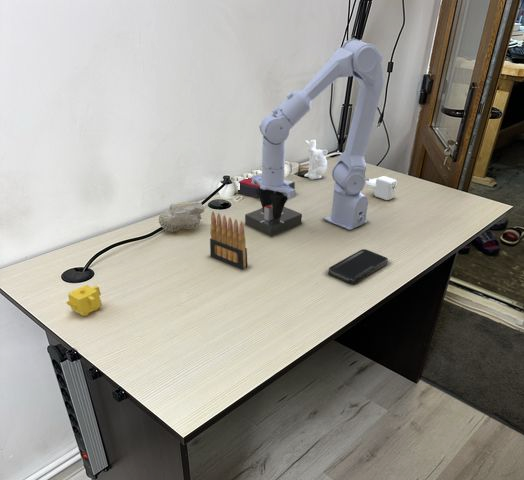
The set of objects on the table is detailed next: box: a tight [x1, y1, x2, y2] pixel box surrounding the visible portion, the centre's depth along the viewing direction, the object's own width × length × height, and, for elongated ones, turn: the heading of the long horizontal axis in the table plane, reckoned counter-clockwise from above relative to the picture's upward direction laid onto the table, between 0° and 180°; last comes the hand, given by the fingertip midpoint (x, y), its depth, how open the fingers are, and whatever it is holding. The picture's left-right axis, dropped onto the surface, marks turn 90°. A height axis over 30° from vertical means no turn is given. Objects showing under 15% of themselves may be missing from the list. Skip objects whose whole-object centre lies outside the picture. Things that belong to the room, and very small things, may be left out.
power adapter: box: [365, 175, 398, 201], centre depth 156 cm, size 11×5×6 cm, turn 44°
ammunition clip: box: [209, 210, 249, 271], centre depth 119 cm, size 11×2×12 cm, turn 52°
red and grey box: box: [237, 173, 296, 199], centre depth 157 cm, size 11×4×15 cm
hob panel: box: [244, 206, 303, 238], centre depth 139 cm, size 11×12×3 cm
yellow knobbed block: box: [65, 284, 102, 317], centre depth 104 cm, size 8×6×5 cm
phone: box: [327, 248, 389, 285], centre depth 120 cm, size 8×1×15 cm
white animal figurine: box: [304, 139, 329, 180], centre depth 166 cm, size 8×7×12 cm
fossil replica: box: [158, 201, 205, 233], centre depth 135 cm, size 12×8×10 cm
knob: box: [264, 204, 274, 221], centre depth 135 cm, size 5×2×4 cm, turn 133°
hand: (272, 216), depth 136 cm, fingers open, 3 cm apart
